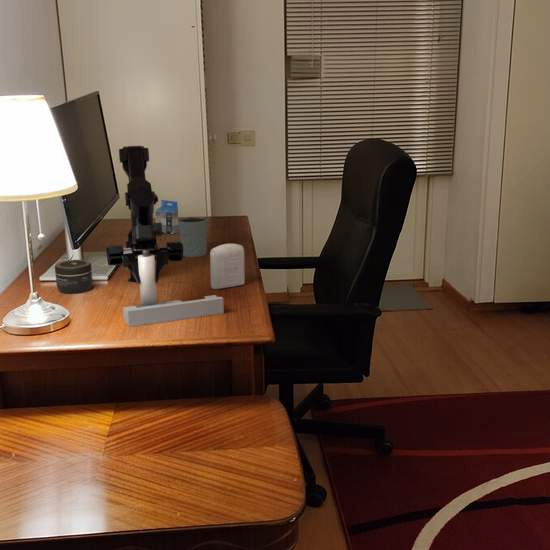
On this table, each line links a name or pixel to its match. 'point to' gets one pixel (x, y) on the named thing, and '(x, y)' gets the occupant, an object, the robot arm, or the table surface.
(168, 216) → the label tape box
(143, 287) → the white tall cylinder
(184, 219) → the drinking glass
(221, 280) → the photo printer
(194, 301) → the cable duct
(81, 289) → the jar
